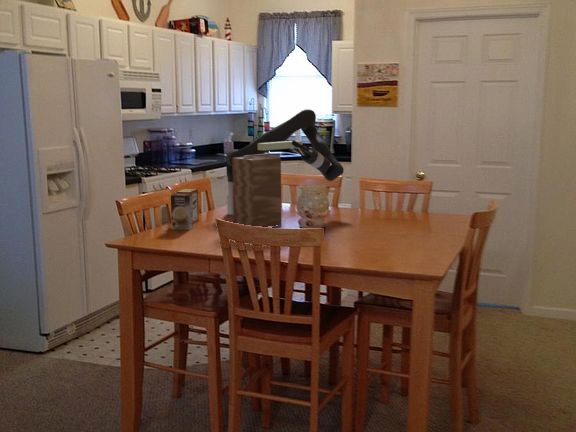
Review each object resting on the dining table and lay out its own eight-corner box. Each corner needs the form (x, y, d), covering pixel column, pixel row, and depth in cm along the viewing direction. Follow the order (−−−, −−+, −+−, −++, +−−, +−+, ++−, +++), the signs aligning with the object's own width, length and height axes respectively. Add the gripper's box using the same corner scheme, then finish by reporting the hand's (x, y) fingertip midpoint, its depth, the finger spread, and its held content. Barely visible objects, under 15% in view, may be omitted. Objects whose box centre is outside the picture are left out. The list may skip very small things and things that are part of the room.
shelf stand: (233, 225, 303) (232, 154, 297) (260, 220, 313) (259, 152, 307) (254, 230, 291) (253, 157, 285) (281, 225, 301) (280, 154, 295)
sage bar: (257, 149, 294) (257, 143, 293) (297, 146, 309) (297, 140, 308) (263, 150, 291) (262, 143, 290) (302, 147, 306) (302, 141, 305)
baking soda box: (190, 224, 306) (189, 191, 303) (178, 223, 308) (176, 190, 305) (198, 220, 315) (197, 188, 312) (186, 220, 317) (185, 188, 314)
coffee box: (170, 229, 294) (169, 195, 291) (174, 227, 300) (173, 193, 297) (190, 230, 293) (189, 195, 290) (193, 227, 299) (192, 193, 296)
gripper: (305, 149, 320) (282, 133, 309) (325, 151, 309) (302, 135, 298) (300, 163, 318) (277, 147, 307) (319, 165, 308) (296, 149, 297)
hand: (289, 141), depth 303 cm, fingers closed on sage bar, 4 cm apart
